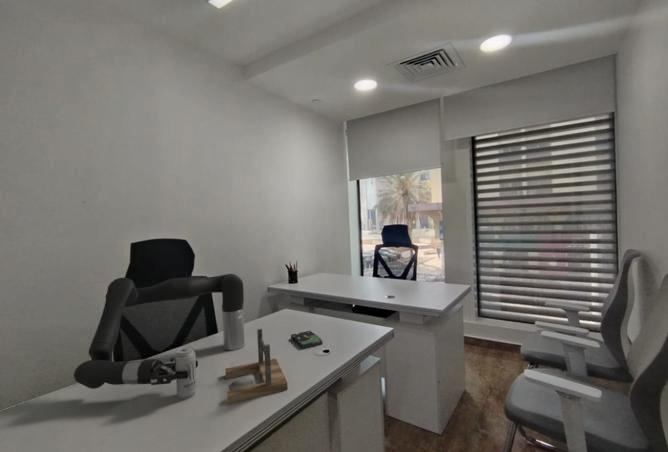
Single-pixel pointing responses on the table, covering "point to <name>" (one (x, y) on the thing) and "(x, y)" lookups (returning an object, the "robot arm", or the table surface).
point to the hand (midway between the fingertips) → (192, 369)
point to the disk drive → (306, 339)
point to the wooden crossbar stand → (268, 371)
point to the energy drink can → (188, 363)
